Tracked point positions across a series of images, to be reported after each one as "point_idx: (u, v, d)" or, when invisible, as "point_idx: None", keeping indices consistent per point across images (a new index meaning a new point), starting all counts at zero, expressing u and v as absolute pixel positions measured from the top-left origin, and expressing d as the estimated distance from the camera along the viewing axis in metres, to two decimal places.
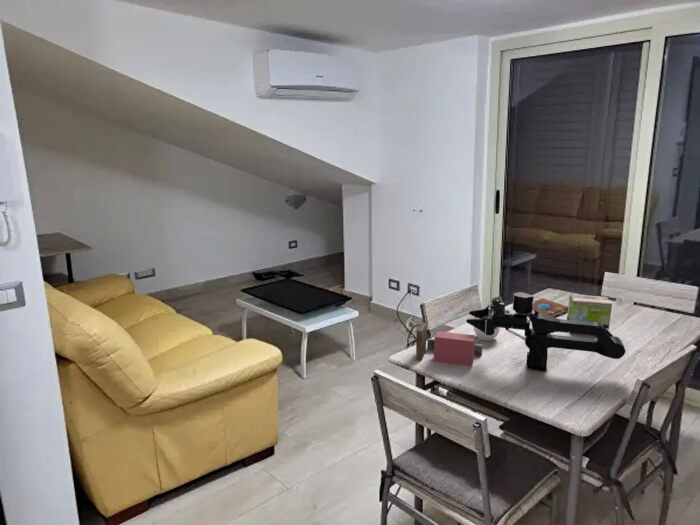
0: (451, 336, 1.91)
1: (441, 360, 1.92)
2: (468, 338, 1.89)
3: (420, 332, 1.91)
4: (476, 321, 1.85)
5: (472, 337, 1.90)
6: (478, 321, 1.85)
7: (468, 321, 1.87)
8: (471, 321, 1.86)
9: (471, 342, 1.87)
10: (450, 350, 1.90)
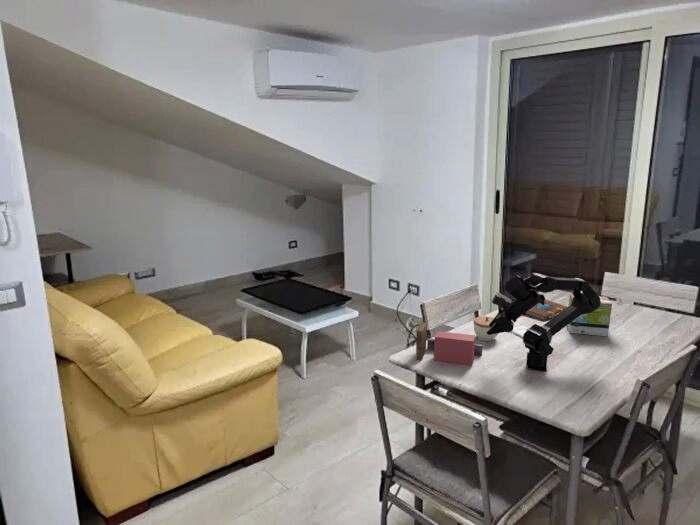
0: (451, 336, 1.91)
1: (441, 360, 1.92)
2: (468, 338, 1.89)
3: (420, 332, 1.91)
4: (493, 327, 1.80)
5: (472, 337, 1.90)
6: (495, 326, 1.80)
7: (488, 332, 1.82)
8: (490, 330, 1.81)
9: (471, 342, 1.87)
10: (450, 350, 1.90)
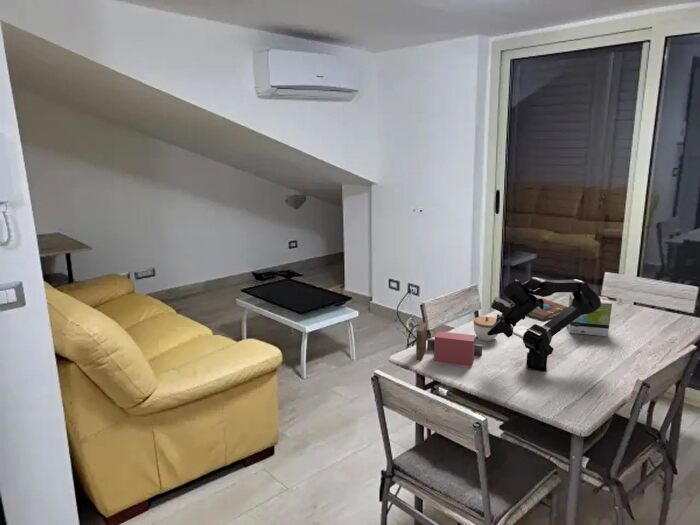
0: (451, 336, 1.91)
1: (441, 360, 1.92)
2: (468, 338, 1.89)
3: (420, 332, 1.91)
4: (494, 328, 1.84)
5: (472, 337, 1.90)
6: (495, 327, 1.84)
7: (489, 333, 1.86)
8: (491, 331, 1.85)
9: (471, 342, 1.87)
10: (450, 350, 1.90)
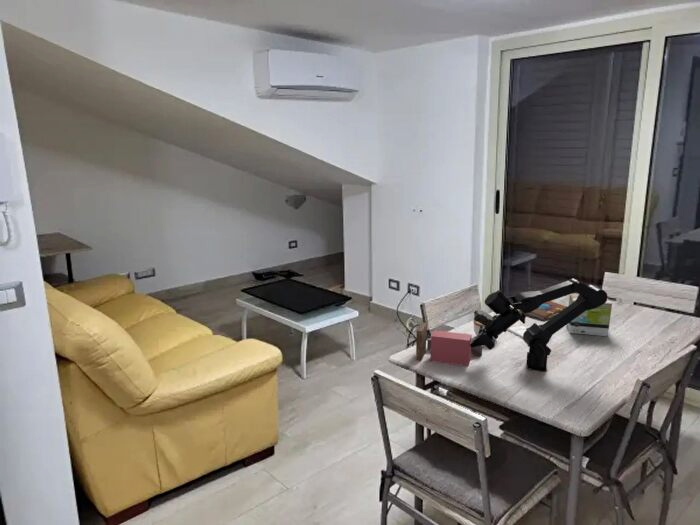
0: (448, 336, 1.91)
1: (438, 359, 1.93)
2: (464, 337, 1.89)
3: (420, 332, 1.91)
4: (476, 340, 1.87)
5: (468, 336, 1.90)
6: (478, 339, 1.87)
7: (472, 345, 1.89)
8: (473, 343, 1.88)
9: (467, 341, 1.87)
10: (447, 349, 1.90)
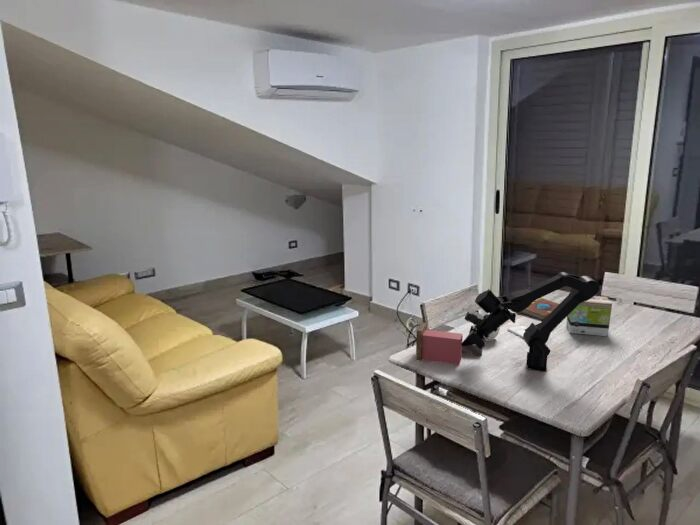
0: (439, 335, 1.92)
1: (429, 358, 1.94)
2: (455, 336, 1.91)
3: (420, 332, 1.91)
4: (467, 339, 1.88)
5: (459, 335, 1.91)
6: (469, 338, 1.88)
7: (463, 344, 1.91)
8: (464, 342, 1.90)
9: (458, 340, 1.88)
10: (438, 348, 1.92)
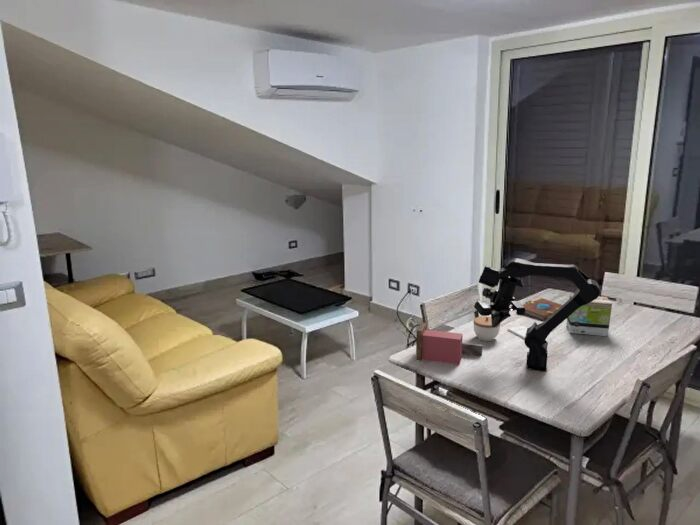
0: (439, 335, 1.92)
1: (429, 358, 1.94)
2: (455, 336, 1.91)
3: (420, 332, 1.91)
4: (492, 317, 1.92)
5: (459, 335, 1.91)
6: (492, 316, 1.92)
7: (492, 325, 1.93)
8: (492, 321, 1.93)
9: (458, 340, 1.88)
10: (438, 348, 1.92)
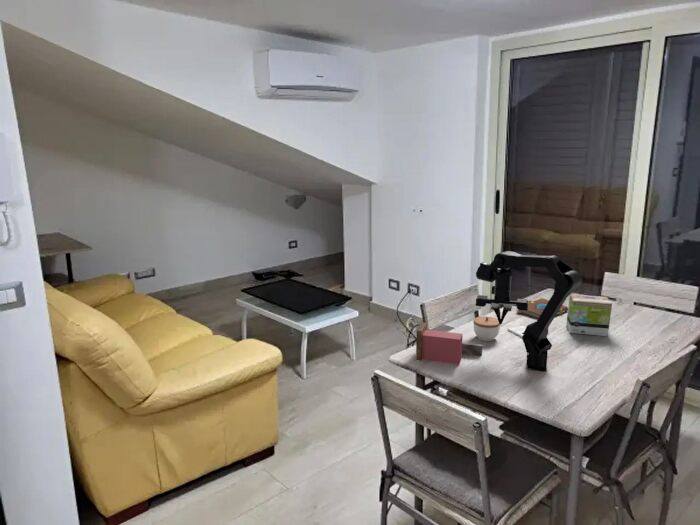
0: (439, 335, 1.92)
1: (429, 358, 1.94)
2: (455, 336, 1.91)
3: (420, 332, 1.91)
4: None
5: (459, 335, 1.91)
6: None
7: (499, 322, 1.97)
8: None
9: (458, 340, 1.88)
10: (438, 348, 1.92)
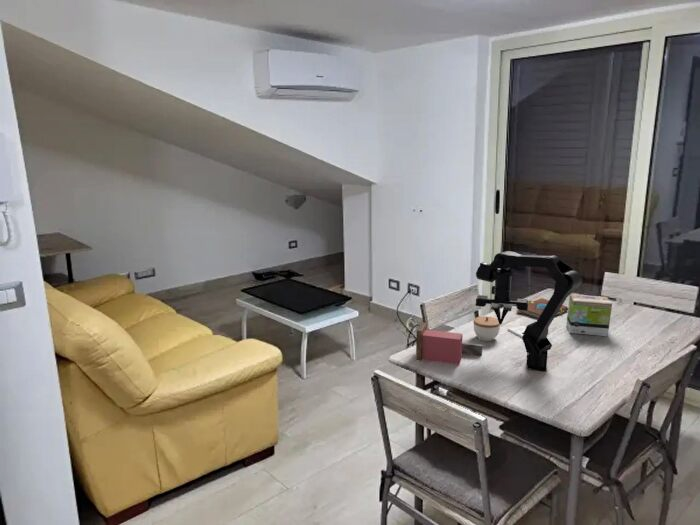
0: (439, 335, 1.92)
1: (429, 358, 1.94)
2: (455, 336, 1.91)
3: (420, 332, 1.91)
4: None
5: (459, 335, 1.91)
6: None
7: (499, 322, 1.97)
8: None
9: (458, 340, 1.88)
10: (438, 348, 1.92)
